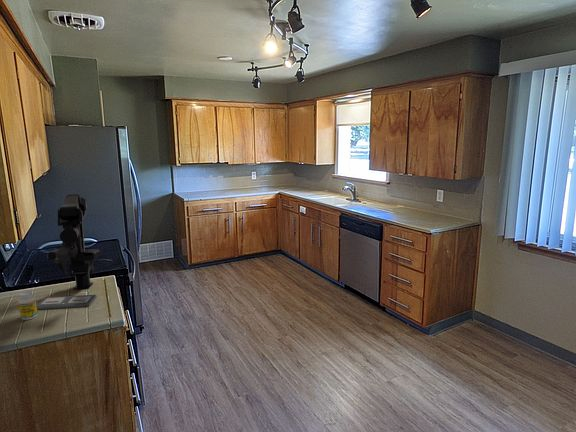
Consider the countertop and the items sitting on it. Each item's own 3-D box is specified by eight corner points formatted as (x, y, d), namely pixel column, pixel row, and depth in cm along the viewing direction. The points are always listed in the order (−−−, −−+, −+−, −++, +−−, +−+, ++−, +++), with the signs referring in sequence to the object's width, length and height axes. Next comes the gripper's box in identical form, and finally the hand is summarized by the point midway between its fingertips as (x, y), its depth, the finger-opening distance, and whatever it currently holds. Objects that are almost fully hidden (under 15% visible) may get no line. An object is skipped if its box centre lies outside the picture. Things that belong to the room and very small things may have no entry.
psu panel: (45, 300, 158) (45, 296, 157) (96, 297, 160) (96, 294, 160) (34, 309, 149) (34, 306, 149) (88, 306, 152) (88, 303, 151)
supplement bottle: (37, 312, 146) (34, 289, 144) (37, 317, 142) (34, 293, 140) (20, 315, 143) (17, 292, 142) (20, 321, 139) (16, 297, 137)
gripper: (35, 242, 142) (40, 281, 145) (84, 243, 142) (88, 282, 145) (54, 235, 153) (58, 271, 156) (99, 235, 153) (103, 272, 156)
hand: (76, 274), depth 153 cm, fingers open, 9 cm apart
